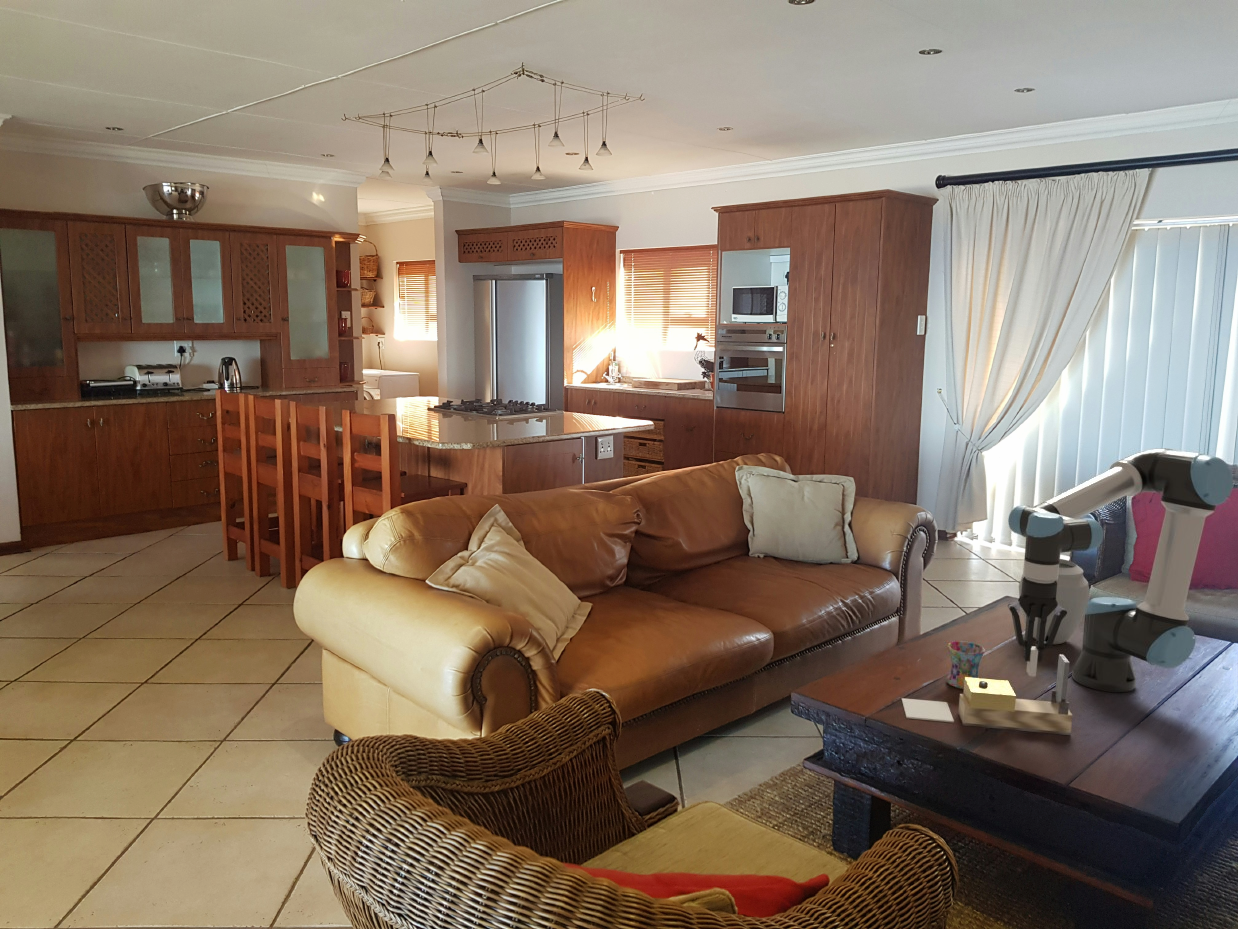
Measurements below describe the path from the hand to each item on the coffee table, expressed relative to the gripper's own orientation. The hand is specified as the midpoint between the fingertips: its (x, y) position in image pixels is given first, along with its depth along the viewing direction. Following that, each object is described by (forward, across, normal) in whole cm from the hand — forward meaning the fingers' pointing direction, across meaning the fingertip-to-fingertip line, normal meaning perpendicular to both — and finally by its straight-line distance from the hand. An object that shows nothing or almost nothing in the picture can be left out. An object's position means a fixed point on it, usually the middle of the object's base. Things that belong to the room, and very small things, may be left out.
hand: (1031, 674), depth 218 cm
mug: (+13, +10, -23) cm, 28 cm away
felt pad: (+13, +22, -3) cm, 26 cm away
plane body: (+13, +3, 0) cm, 13 cm away
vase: (+13, -21, -64) cm, 69 cm away
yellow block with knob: (+8, +9, 0) cm, 12 cm away
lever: (+6, -7, 0) cm, 9 cm away
